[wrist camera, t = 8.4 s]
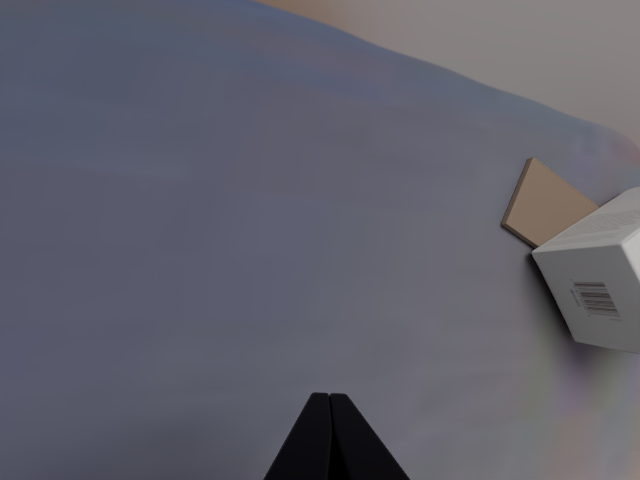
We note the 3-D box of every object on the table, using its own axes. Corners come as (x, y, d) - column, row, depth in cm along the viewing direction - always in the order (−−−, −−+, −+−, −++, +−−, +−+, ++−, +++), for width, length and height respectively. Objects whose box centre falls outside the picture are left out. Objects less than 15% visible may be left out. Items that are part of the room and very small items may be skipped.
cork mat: (611, 301, 27) (617, 301, 26) (500, 224, 25) (505, 223, 24) (630, 236, 28) (637, 236, 28) (527, 159, 26) (533, 156, 26)
